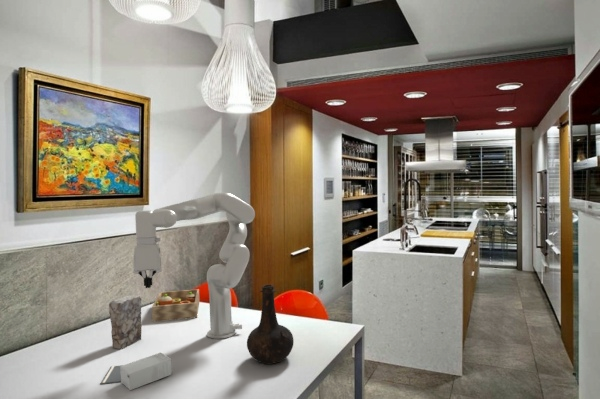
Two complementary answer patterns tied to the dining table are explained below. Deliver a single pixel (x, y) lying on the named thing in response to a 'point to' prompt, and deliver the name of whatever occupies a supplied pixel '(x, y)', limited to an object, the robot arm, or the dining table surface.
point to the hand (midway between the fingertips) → (148, 287)
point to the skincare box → (145, 370)
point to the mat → (112, 375)
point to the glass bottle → (269, 333)
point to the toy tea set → (175, 300)
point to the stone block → (125, 321)
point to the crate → (176, 306)
